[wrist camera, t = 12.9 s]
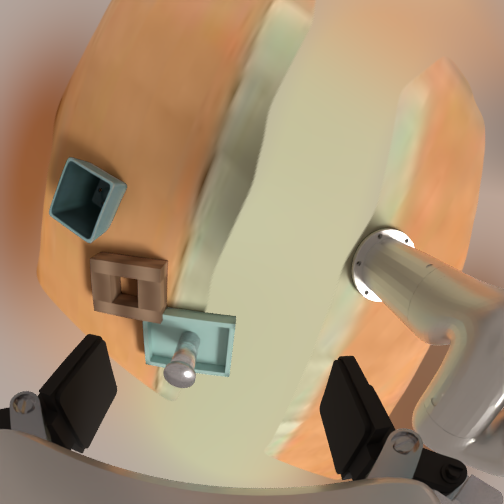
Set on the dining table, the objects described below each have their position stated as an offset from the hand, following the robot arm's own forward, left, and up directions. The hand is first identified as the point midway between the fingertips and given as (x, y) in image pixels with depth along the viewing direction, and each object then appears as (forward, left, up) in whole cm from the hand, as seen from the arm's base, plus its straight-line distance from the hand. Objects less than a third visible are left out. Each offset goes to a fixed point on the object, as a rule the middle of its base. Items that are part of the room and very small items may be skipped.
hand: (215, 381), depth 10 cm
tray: (+6, +19, -32) cm, 38 cm away
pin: (+6, +19, -31) cm, 37 cm away
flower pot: (+21, -4, -32) cm, 38 cm away
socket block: (+16, +10, -32) cm, 37 cm away
